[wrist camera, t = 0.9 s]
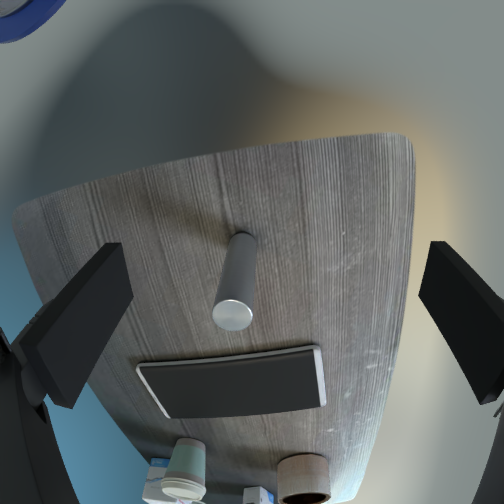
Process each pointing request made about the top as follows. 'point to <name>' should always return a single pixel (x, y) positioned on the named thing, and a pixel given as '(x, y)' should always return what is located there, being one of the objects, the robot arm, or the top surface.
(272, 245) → the top surface
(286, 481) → the planter
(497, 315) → the robot arm
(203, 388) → the smartphone
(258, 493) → the ink box
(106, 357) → the top surface
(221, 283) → the grey metal rod
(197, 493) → the coffee cup
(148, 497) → the ink box
